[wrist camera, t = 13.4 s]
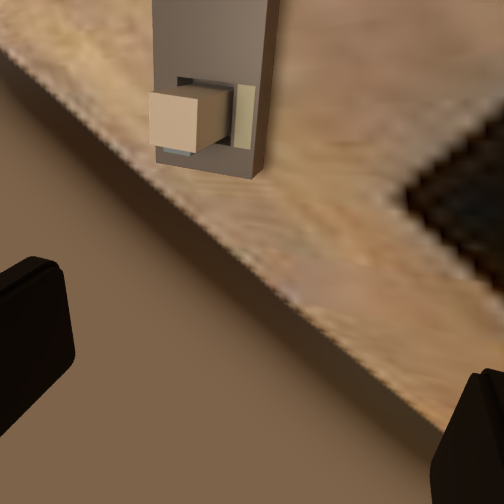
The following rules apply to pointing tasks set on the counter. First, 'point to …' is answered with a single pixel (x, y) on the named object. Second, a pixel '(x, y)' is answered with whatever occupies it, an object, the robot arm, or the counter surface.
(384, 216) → the counter surface
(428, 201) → the counter surface
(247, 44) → the socket block
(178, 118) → the plug
